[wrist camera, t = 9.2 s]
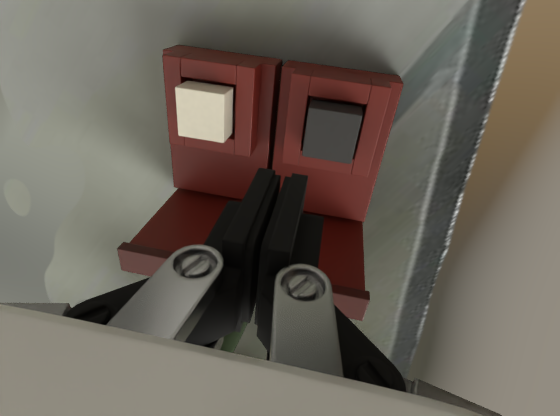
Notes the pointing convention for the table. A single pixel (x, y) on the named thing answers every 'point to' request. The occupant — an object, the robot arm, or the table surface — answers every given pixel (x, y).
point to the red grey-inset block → (369, 146)
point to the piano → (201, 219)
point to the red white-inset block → (246, 119)
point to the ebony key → (331, 131)
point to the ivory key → (204, 111)
